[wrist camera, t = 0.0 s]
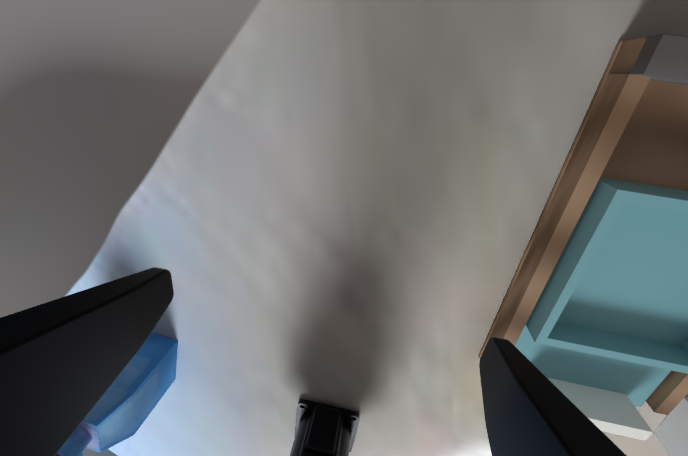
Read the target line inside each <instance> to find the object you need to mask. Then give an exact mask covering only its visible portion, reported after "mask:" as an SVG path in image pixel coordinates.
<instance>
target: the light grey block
mask: <svg viewBox="0 0 688 456" xmlns="http://www.w3.org/2000/svg"><path fill="white" fill-rule="evenodd" d="M654 435H655V436H656V438H657V439H658V441H659V442H660V443H661V445H662V446H663V448H664V449H665V450H666V452H667V453H668V454H669V456H688V397H686V396H685V397H684V398H683V399H682V401H681V402H680V403H679V404H678V405H677V406H676V407H675V408H674V409H673V410H672V411H671V412H670V413H669V414H668V415H667V417H666V418H665V419H664V421H663V422H662V423H661V424H660V426H659V427H658V428H657V430H656V431H655V432H654Z"/></svg>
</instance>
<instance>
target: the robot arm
mask: <svg viewBox="0 0 688 456" xmlns="http://www.w3.org/2000/svg"><path fill="white" fill-rule="evenodd" d="M172 298H173V285H172V278H171V273H170V272H169V271H168V270H166V269H162V268H156V267H155V268H150V269H147V270H144V271H141V272H138V273H135V274H132V275H129V276H126V277H123V278H120V279H117V280H114V281H111V282H108V283H105V284H102V285H99V286H96V287H93V288H90V289H87V290H84V291H80V292H77V293H74V294H71V295H68V296H65V297H62V298H59V299H56V300H53V301H50V302H47V303H44V304H41V305H38V306H35V307H32V308H29V309H26V310H23V311H20V312H17V313H14V314H11V315H8V316H4V317H1V318H0V456H55V455H56V453H57V452H58V451H59V450H60V448H61V447H62V446H63V445H64V443H65V442H66V441H67V440H68V438H69V437H70V436H71V434H72V433H73V432H74V431H75V429H76V428H77V427H78V426H79V424H80V423H81V422H82V421H83V419H84V418H85V417H86V416H87V414H88V413H89V412H90V411H91V409H92V408H93V407H94V406H95V404H96V403H97V402H98V401H99V399H100V398H101V397H102V396H103V394H104V393H105V392H106V391H107V389H108V388H109V387H110V386H111V384H112V383H113V382H114V381H115V379H116V378H117V377H118V376H119V374H120V373H121V372H122V371H123V369H124V368H125V367H126V366H127V364H128V363H129V362H130V361H131V359H132V358H133V357H134V356H135V354H136V353H137V352H138V350H139V349H140V348H141V346H142V345H143V344H144V342H145V341H146V339H147V338H148V336H149V335H150V333H151V332H152V330H153V329H154V327H155V325H156V324H157V322H158V321H159V319H160V318H161V316H162V315H163V313H164V312H165V310H166V309H167V307H168V306H169V304H170V302H171V301H172ZM479 366H480V376H481V386H482V395H483V404H484V414H485V421H486V428H487V433H488V438H489V443H490V447H491V452H492V456H626V455H625V454H624V453H623V452H622V451H621V450H620V449H619V448H618V447H617V446H616V445H615V444H614V443H613V442H612V441H611V440H610V439H609V438H608V437H607V436H606V435H605V434H604V433H603V432H602V431H601V430H600V429H599V428H598V427H597V426H596V425H595V424H594V423H593V422H592V421H591V420H590V419H589V418H587V417H586V416H585V415H584V414H583V413H582V412H581V411H580V410H579V409H578V408H577V407H576V406H575V405H574V404H573V403H572V402H571V401H570V400H569V399H568V398H567V397H566V396H565V395H564V394H563V393H562V392H561V391H560V390H559V389H558V388H557V387H556V386H555V385H554V384H553V383H552V382H551V381H550V380H549V379H548V378H547V377H546V376H545V375H544V374H543V373H542V372H541V371H540V370H539V369H538V368H537V367H536V366H535V365H534V364H533V363H532V362H530V361H529V360H528V359H527V358H526V357H525V356H524V355H523V354H522V353H521V352H520V351H519V350H518V349H517V348H516V347H515V346H514V345H513V344H512V343H511V342H510V341H509V340H507V339H503V338H498V337H491V338H490V339H489V340H488V343H487V345H486V347H485V349H484V351H483V354H482V356H481V358H480V365H479ZM358 421H359V414H358V413H356V412H353V411H348V410H344V409H340V408H335V407H331V406H327V405H322V404H318V403H314V402H310V401H305V400H300V401H299V402H298V405H297V415H296V426H295V436H294V437H295V440H294V443H293V447H292V450H291V454H290V456H349V452H351V450H352V446H353V442H354V438H355V434H356V429H357V425H358Z"/></svg>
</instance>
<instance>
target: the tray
mask: <svg viewBox="0 0 688 456" xmlns="http://www.w3.org/2000/svg"><path fill="white" fill-rule="evenodd" d="M515 347H516V348H517V349H518V350H519V351H520V352H521V353H522V354H523V355H524V356H525V357H526V358H527V359H528V360H529V361H530V362H532V363H533V364H534V365H535V366H536V367H537V368H538V369H539V370H540V371H541V372H542V373H543V374H544V375H545V376H546V377H547V378H548V379H549V380H550V381H551V382H552V383H553V384H554V385H555V386H556V387H557V388H558V389H559V390H560V391H561V392H562V393H563V394H564V395H565V396H566V397H567V398H568V399H569V400H570V401H571V402H572V403H573V404H574V405H575V406H576V407H577V408H578V409H579V410H580V411H581V412H582V413H583V414H584V415H585V416H586V417H587V418H589V419H590V420H591V421H592V422H593V423H594V424H595V425H596V426H597V427H598V428H599V429H600V430H601V431H604V432H609V433H613V434H618V435H622V436H627V437H631V438H636V439H640V440H645V441H646V439H647V438H648V437H649V436H650V435H651V434H652V433H653V431H652V430H651V429H650V427H649V426H648V424H647V423H646V422H645V420H644V419H643V417H642V416H641V415H640V413H639V412H638V411H637V409H636V408H635V406H639V407H641V406H642V404H643V403H644V402H645V401H646V400H647V398H648V397H649V396H650V395H651V394H652V393H653V391H654V390H655V389H656V388H657V387H658V386H659V384H660V383H661V382H662V381H663V380H664V379H665V377H666V376H667V375H668V374H669V373H670V372H671V370H672V371H677V372H681V373H686V374H688V191H686V190H680V189H674V188H667V187H661V186H655V185H649V184H642V183H636V182H630V181H623V180H617V179H611V178H605V177H600V179H599V181H598V183H597V185H596V186H595V188H594V190H593V192H592V194H591V196H590V198H589V200H588V202H587V204H586V206H585V208H584V210H583V212H582V214H581V216H580V218H579V220H578V222H577V224H576V226H575V228H574V230H573V232H572V234H571V236H570V238H569V240H568V242H567V244H566V246H565V248H564V250H563V252H562V254H561V256H560V257H559V259H558V261H557V263H556V265H555V267H554V269H553V271H552V273H551V275H550V277H549V279H548V281H547V283H546V285H545V287H544V289H543V291H542V293H541V295H540V297H539V299H538V301H537V303H536V305H535V307H534V309H533V311H532V313H531V315H530V317H529V319H528V321H527V323H526V325H525V326H524V328H523V330H522V332H521V334H520V336H519V338H518V340H517V342H516V344H515Z"/></svg>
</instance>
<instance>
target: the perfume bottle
mask: <svg viewBox="0 0 688 456" xmlns="http://www.w3.org/2000/svg"><path fill="white" fill-rule="evenodd" d="M177 345H178V341H177V340H174V339H171V338H168V337H165V336H162V335H159V334H156V333H153V332H151V333H150V335H149V336H148V338H147V339H146V341H145V342H144V344H143V345H142V346H141V348H140V349H139V350H138V352H137V353H136V354H135V356H134V357H133V358H132V359H131V361H130V362H129V363H128V364H127V366H126V367H125V368H124V369H123V371H122V372H121V373H120V374H119V376H118V377H117V378H116V379H115V381H114V382H113V383H112V384H111V386H110V387H109V388H108V389H107V391H106V392H105V393H104V394H103V396H102V397H101V398H100V399H99V401H98V402H97V403H96V404H95V406H94V407H93V408H92V409H91V411H90V412H89V413H88V414H87V416H86V417H85V418H84V419H83V421H82V422H81V423H80V424H79V426H78V427H77V428H76V429H75V431H74V432H73V433H72V434H71V436H70V437H69V438H68V440H67V441H66V442H65V443H64V445H63V446H62V447H61V448H60V450H59V451H58V452H57V453H56V455H55V456H83V453H82V451H83V450H84V449H85V448H88V449H91V450H94V451H97V452H102V451H104V450H106V449H108V448H110V447H112V446H114V445H115V444H117V443H119V442H121V441H123V440H125V439H127V438H129V437H131V436H133V435H134V434H135V433H136V431H137V430H138V429H139V427H140V426H141V425H142V423H143V422H144V421H145V419H146V418H147V416H148V415H149V414H150V412H151V411H152V410H153V408H154V407H155V406H156V404H157V403H158V402H159V400H160V399H161V398H162V396H163V395H164V393H165V392H166V391H167V389H168V388H169V387H170V385H171V384H172V383H173V381H174V380H175V376H176V360H177Z"/></svg>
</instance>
